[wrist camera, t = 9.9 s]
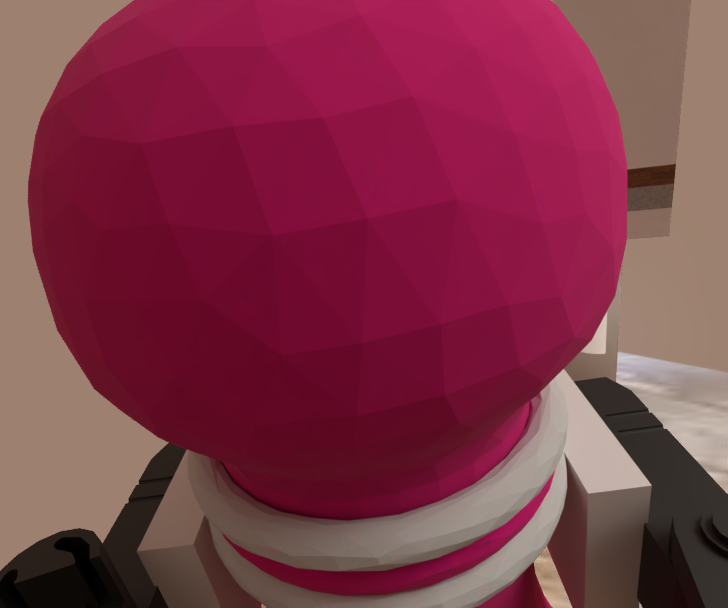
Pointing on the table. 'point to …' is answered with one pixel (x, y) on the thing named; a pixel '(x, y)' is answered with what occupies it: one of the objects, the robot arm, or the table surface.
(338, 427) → the pepper mill
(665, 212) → the spiral stair tower
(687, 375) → the table surface
